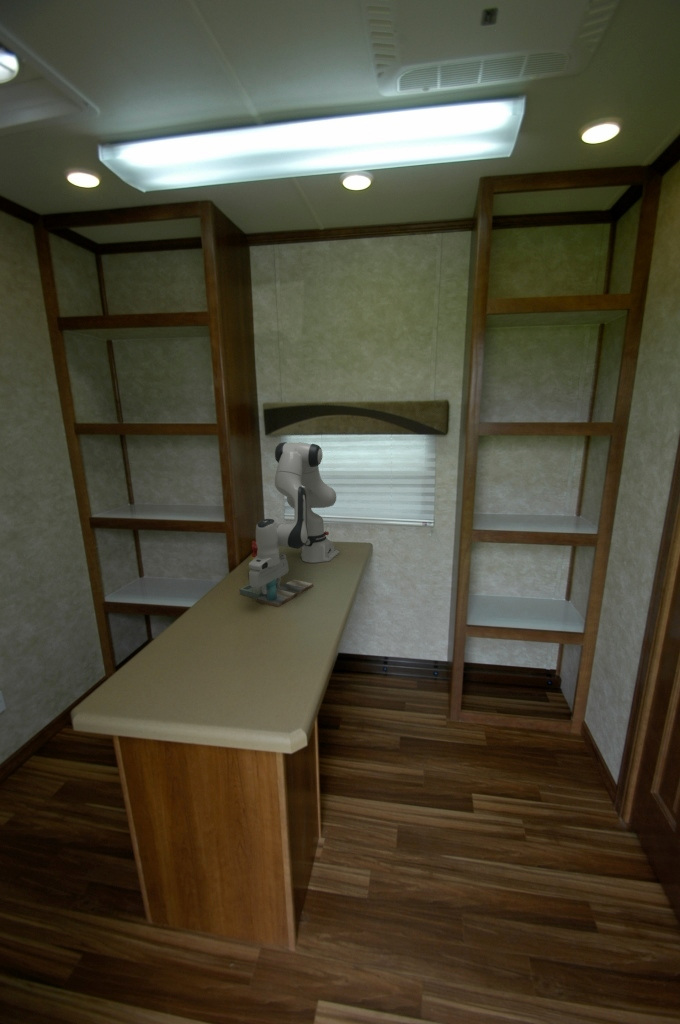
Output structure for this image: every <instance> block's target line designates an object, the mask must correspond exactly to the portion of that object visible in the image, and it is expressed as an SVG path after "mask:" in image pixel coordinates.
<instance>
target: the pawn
mask: <svg viewBox="0 0 680 1024" xmlns="http://www.w3.org/2000/svg"><path fill="white" fill-rule="evenodd" d="M266 589H268V593H267V599H268V600H275V599H277V592H276V579H274V580H273V581H271V582H269V583H267V584H266Z"/></svg>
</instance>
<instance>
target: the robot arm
mask: <svg viewBox="0 0 680 1024" xmlns="http://www.w3.org/2000/svg"><path fill="white" fill-rule="evenodd" d="M274 458H275V461H276V462H277V467H276V471H275V472H276V473H275V477H274V486H275V488H276V490H277V491H278V492H279V493H280V494H281V495H283V496H285V497H286V501H287V504H288V506H290V507H291V508H292V509H294V522H293V523H283V522H276V521H275V519H273V518H265V519H261V520H259V521H258V522H256V526H255V541H256V544H257V547H258V550H257V556H256V557H255V558H254V559H253V560H252V561H251V562H250V561H249V562H248V568H249V572H248V580H249V581H248V582H249V584H250V586H251V587H253V588H256V589H258V588H261V589H262V593H263V594H267V593H268V589H266V588H265V587H266V584H267V583H269V582H271V581H273V580H274V579H276V588H278V587H280V586H281V584H280V582H281V580H282V577H283V576H286V575H287V574H289V563H288V562H289V561H288V559H287V555H286V554H285V553H283V552H282V553H280V549H279V547H287V548H292V549H296V550H297V549H298V550H300V549H301V554H300V557H301V561H303V562H304V563H313V564H315V563H316V564H317V563H323V562H325V563H326V562H330V561H331V560H332V559H334V558H335V557H336V556H338V554H340V551H339V550H338V549H335V543H334V542H333V541H331V540H330V539H328V538H327V536H329V534H330V533H329V531H324V527H325V526H324V524H325V523H324V518H323V517H322V515H319V514H317V513H315V512H314V511H313V510H312V509H324V508H329V507H333V506H334V505H335V504H336V502H337V493H336V491H335V489H334V488H332V487H331V486H329V485H328V484H326V483H325V481H323V479H322V477H321V474H320V469H319V466H320V464H321V463H322V460H323V450H322V447H320V445H318V444H315V443H309V442H299V441H298V442H287V441H286V442H280V443H278V444H277V445H276V447H275V450H274Z"/></svg>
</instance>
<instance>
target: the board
mask: <svg viewBox="0 0 680 1024" xmlns="http://www.w3.org/2000/svg"><path fill="white" fill-rule="evenodd" d="M312 588H314V584H313V583H311V582H307V581H302V580H298V579H294V578H292V579H291V580H289V581H287V582H284V583H283V584H280V587H278V588H276V592H277V599H275V600H268V599H267V594H264V595H262V596H261V597H259V598H257V599H256V598H255V600H256V602H258V603H261V604H264V605H268V606H272V607H276V608H280V607H281V605H282V606H283V605H285V604H286V603H288V602H290V601H292V600H293V599H296V598H297V597H298V596H300V595H302V594H304V593H305V592H306V591H308V589H309V590H310V589H312Z"/></svg>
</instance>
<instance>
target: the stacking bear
mask: <svg viewBox="0 0 680 1024" xmlns="http://www.w3.org/2000/svg"><path fill="white" fill-rule="evenodd" d="M251 549H252V552H251V555H250V561H249V563H250V562H251V561H252V560H253V559H254V558H255V557H256V556H257V550H258V547H257V544H256V540H252V542H251Z"/></svg>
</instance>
